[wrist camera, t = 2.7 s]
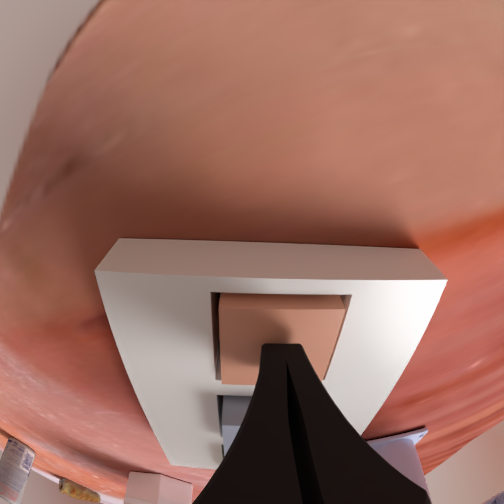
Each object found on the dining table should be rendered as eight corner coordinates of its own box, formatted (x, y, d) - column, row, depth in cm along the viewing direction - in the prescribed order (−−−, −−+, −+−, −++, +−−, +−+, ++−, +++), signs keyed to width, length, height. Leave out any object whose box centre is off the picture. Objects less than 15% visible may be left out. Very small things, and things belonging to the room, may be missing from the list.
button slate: (295, 417, 16) (300, 456, 14) (226, 417, 16) (224, 457, 13) (308, 377, 14) (316, 423, 12) (224, 377, 14) (221, 425, 11)
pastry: (105, 494, 39) (102, 508, 36) (96, 494, 41) (93, 507, 38) (64, 476, 36) (60, 491, 33) (58, 477, 38) (55, 490, 35)
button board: (332, 439, 20) (337, 464, 18) (174, 439, 20) (171, 464, 18) (420, 249, 12) (447, 279, 10) (119, 238, 11) (94, 270, 9)
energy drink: (14, 443, 29) (-4, 493, 19) (5, 432, 27) (-15, 487, 16) (39, 456, 30) (23, 509, 20) (32, 447, 28) (13, 505, 18)
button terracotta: (311, 338, 14) (321, 383, 12) (225, 337, 14) (221, 384, 11) (327, 265, 12) (345, 308, 10) (224, 262, 12) (218, 307, 9)
